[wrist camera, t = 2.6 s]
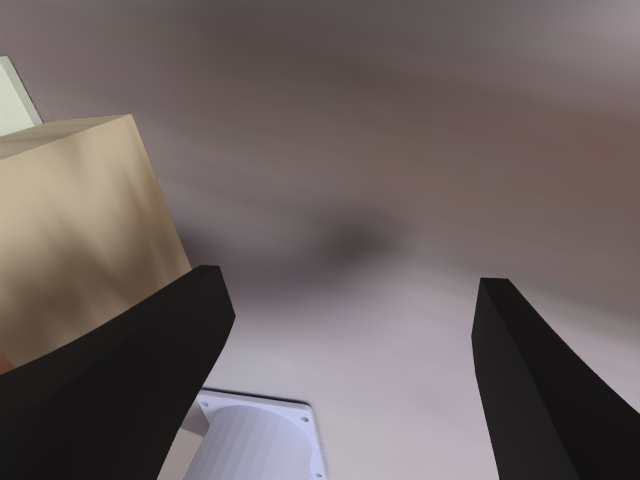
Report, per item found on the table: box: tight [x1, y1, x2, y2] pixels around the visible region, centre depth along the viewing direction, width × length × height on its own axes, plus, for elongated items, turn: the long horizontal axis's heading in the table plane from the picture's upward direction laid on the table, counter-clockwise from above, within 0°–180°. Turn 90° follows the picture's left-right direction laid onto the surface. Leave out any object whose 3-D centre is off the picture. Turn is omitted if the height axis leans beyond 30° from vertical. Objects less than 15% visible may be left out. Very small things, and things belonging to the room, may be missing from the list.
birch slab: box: [0, 114, 192, 375], centre depth 13 cm, size 9×4×8 cm, turn 7°
